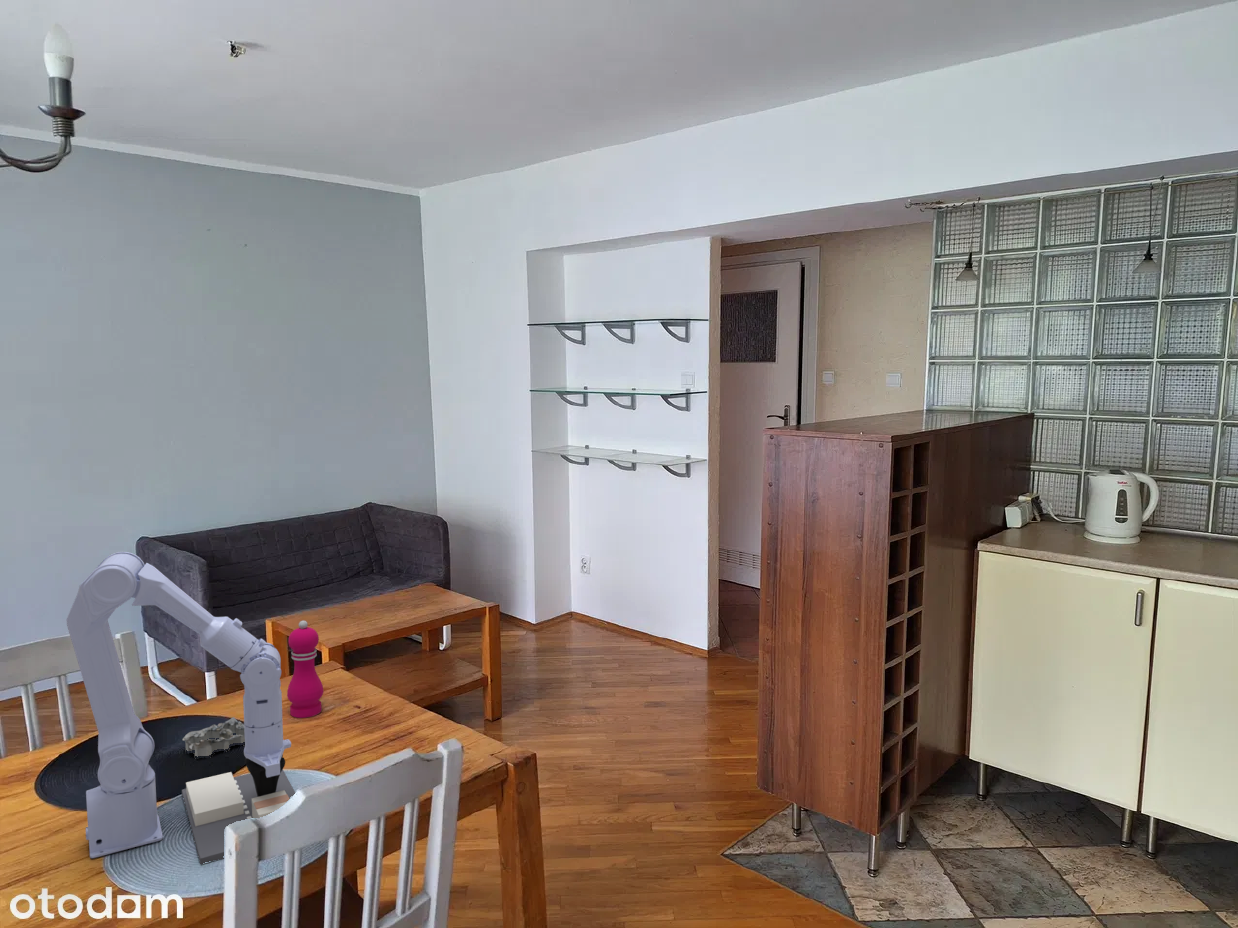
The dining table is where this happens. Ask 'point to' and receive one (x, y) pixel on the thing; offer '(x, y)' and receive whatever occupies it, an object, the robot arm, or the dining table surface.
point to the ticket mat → (216, 829)
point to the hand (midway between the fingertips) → (266, 800)
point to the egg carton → (222, 731)
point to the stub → (268, 803)
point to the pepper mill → (304, 673)
